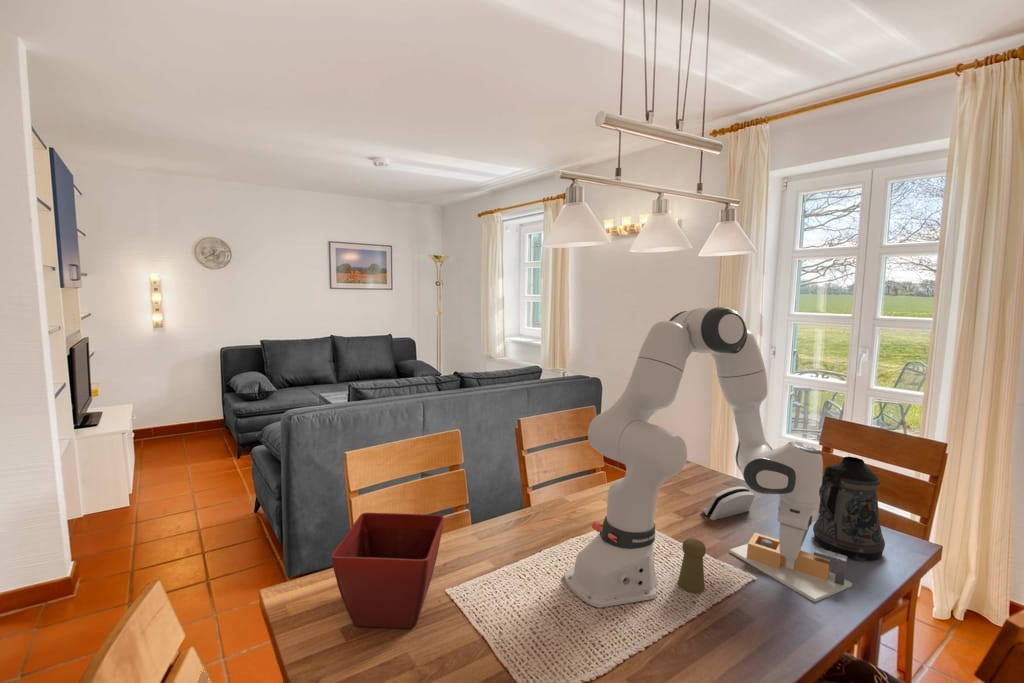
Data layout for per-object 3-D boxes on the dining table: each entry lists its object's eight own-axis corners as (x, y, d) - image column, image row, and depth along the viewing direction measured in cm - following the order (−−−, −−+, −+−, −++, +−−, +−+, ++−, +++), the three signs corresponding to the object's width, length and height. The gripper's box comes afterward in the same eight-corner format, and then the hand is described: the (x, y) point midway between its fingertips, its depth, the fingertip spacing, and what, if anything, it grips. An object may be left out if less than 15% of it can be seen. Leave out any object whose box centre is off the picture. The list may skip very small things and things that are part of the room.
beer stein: (891, 549, 136) (902, 462, 134) (868, 573, 124) (879, 478, 122) (825, 525, 149) (833, 445, 146) (797, 545, 137) (806, 458, 134)
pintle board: (814, 602, 112) (816, 581, 112) (729, 552, 133) (731, 534, 132) (851, 586, 119) (854, 566, 118) (765, 540, 139) (766, 524, 139)
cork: (672, 580, 119) (675, 537, 118) (691, 575, 121) (695, 533, 120) (690, 595, 113) (693, 550, 112) (710, 589, 116) (714, 545, 115)
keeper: (811, 578, 122) (813, 551, 121) (812, 572, 124) (815, 546, 123) (843, 588, 118) (846, 561, 117) (844, 583, 120) (847, 556, 119)
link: (746, 558, 128) (747, 543, 128) (753, 546, 134) (754, 532, 134) (826, 584, 118) (827, 569, 117) (829, 570, 124) (831, 555, 123)
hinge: (736, 504, 163) (747, 480, 158) (747, 514, 159) (759, 490, 155) (699, 513, 155) (710, 488, 151) (710, 524, 151) (722, 499, 147)
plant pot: (362, 579, 116) (362, 511, 114) (443, 583, 115) (444, 514, 114) (330, 637, 97) (329, 556, 95) (427, 642, 96) (427, 560, 95)
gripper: (791, 491, 134) (786, 539, 135) (776, 517, 118) (771, 572, 119) (818, 497, 130) (813, 547, 131) (806, 526, 114) (800, 582, 115)
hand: (793, 559), depth 125 cm, fingers open, 8 cm apart
